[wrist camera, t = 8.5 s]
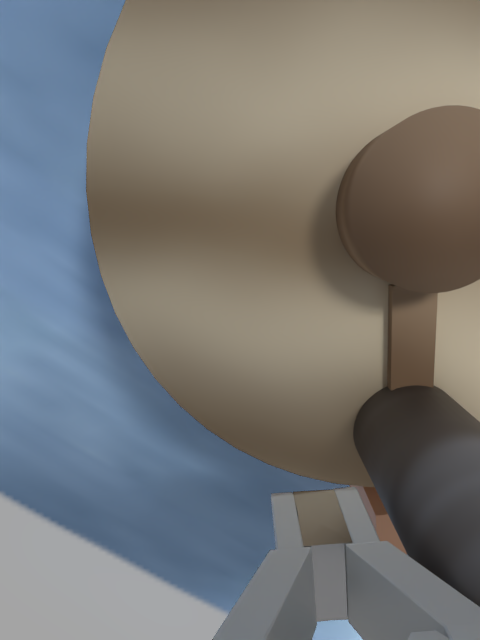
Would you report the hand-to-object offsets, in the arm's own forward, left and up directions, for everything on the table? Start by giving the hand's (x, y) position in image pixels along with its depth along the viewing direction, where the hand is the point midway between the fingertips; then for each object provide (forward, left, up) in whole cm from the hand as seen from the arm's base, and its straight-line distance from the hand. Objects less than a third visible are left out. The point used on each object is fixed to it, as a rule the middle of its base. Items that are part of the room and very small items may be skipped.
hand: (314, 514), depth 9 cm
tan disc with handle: (-4, -7, -5) cm, 9 cm away
